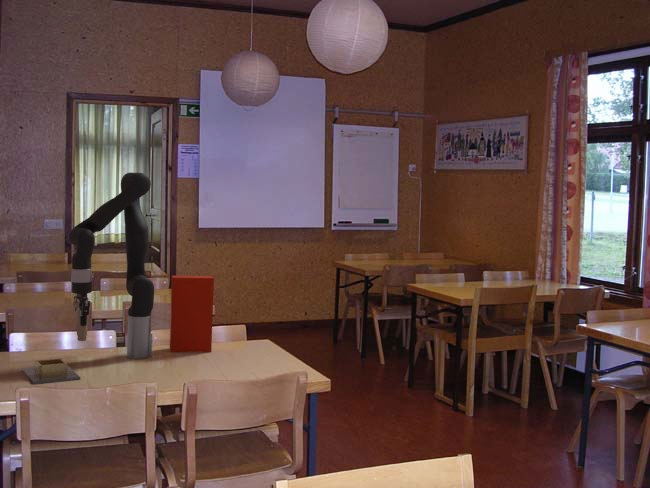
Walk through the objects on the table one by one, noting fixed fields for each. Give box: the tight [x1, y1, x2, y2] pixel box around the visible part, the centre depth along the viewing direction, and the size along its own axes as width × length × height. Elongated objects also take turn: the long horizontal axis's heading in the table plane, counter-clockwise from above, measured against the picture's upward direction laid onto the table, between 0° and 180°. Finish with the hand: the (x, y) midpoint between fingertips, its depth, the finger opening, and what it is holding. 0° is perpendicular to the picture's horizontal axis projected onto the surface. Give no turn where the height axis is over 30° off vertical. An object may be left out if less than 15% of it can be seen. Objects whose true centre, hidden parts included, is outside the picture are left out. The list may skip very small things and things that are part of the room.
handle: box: [72, 301, 92, 342], centre depth 281 cm, size 5×6×15 cm
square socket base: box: [21, 357, 81, 385], centre depth 268 cm, size 16×20×5 cm
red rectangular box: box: [169, 275, 215, 353], centre depth 316 cm, size 8×17×32 cm, turn 104°
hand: (81, 324), depth 281 cm, fingers closed on handle, 4 cm apart
